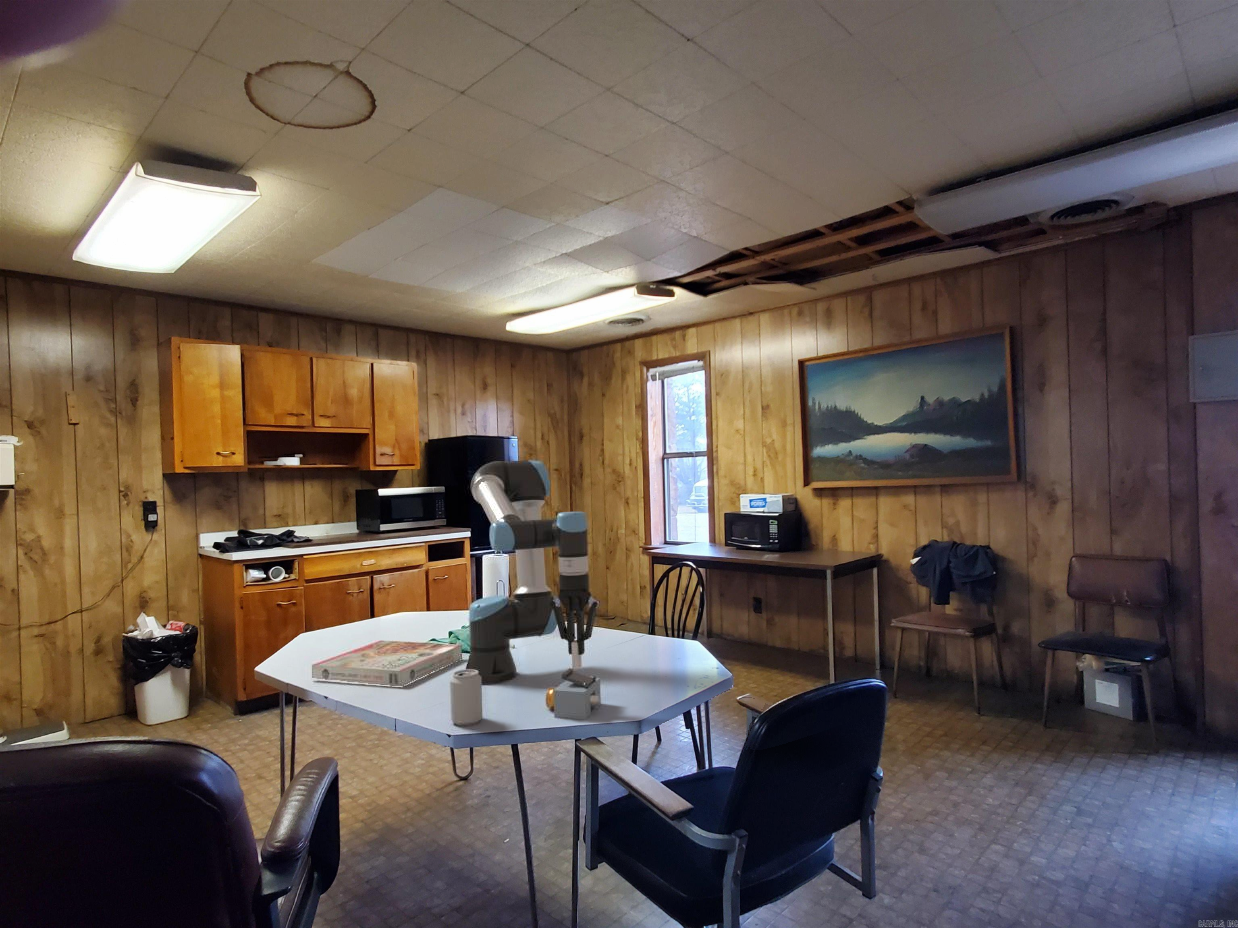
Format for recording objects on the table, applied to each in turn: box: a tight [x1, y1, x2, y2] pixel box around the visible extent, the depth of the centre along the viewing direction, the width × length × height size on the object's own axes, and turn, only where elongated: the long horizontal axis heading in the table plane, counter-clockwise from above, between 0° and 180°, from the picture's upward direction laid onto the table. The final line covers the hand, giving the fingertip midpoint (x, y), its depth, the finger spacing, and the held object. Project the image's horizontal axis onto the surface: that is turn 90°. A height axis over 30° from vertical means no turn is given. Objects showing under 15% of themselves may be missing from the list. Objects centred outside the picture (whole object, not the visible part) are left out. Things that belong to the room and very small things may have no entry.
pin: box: [545, 687, 600, 709], centre depth 176 cm, size 13×5×5 cm, turn 73°
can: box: [449, 668, 483, 726], centre depth 170 cm, size 8×8×12 cm
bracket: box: [553, 677, 602, 720], centre depth 175 cm, size 8×12×6 cm, turn 163°
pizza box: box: [311, 640, 463, 686], centre depth 220 cm, size 32×5×32 cm
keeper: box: [560, 667, 597, 688], centre depth 175 cm, size 7×7×1 cm
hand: (577, 667), depth 175 cm, fingers closed
